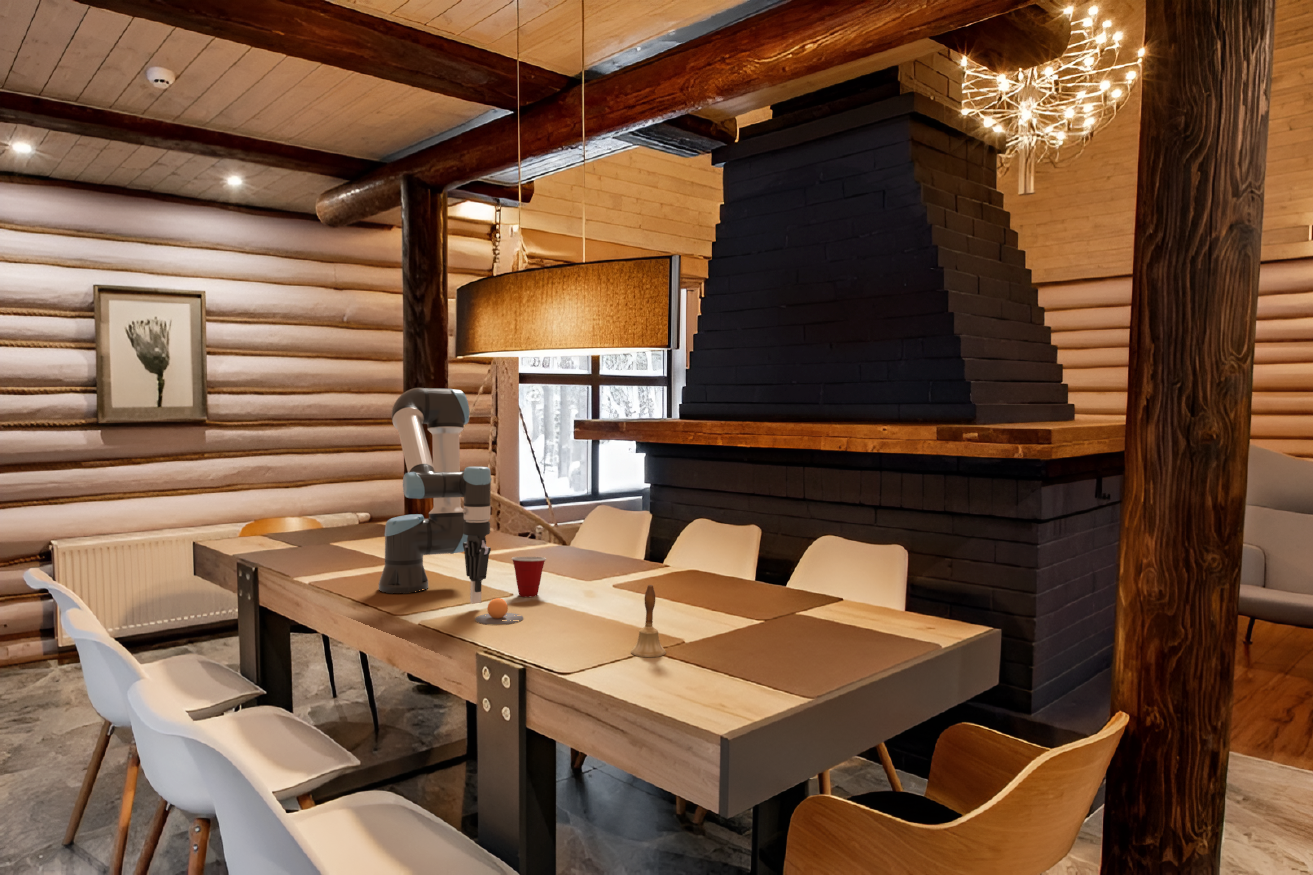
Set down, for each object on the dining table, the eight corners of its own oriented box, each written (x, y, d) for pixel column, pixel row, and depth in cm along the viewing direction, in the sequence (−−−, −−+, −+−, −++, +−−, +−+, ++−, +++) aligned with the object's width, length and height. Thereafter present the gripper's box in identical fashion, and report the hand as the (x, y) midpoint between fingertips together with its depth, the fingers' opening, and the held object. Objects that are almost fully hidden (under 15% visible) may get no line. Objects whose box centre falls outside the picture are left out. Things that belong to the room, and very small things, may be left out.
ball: (486, 622, 221) (482, 603, 223) (504, 620, 224) (500, 601, 226) (495, 616, 217) (490, 596, 219) (513, 613, 220) (508, 594, 223)
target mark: (466, 617, 222) (466, 616, 222) (508, 611, 230) (508, 610, 230) (488, 627, 212) (488, 626, 212) (532, 620, 220) (532, 619, 220)
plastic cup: (549, 592, 257) (550, 554, 257) (541, 599, 246) (541, 560, 246) (516, 590, 258) (516, 553, 258) (506, 598, 247) (507, 559, 247)
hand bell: (646, 645, 197) (647, 580, 197) (672, 652, 192) (674, 585, 192) (623, 653, 191) (624, 585, 190) (650, 660, 186) (651, 590, 185)
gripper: (454, 519, 234) (453, 600, 235) (475, 524, 224) (474, 608, 224) (478, 517, 239) (477, 597, 239) (499, 522, 229) (498, 605, 229)
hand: (475, 602), depth 232 cm, fingers closed
